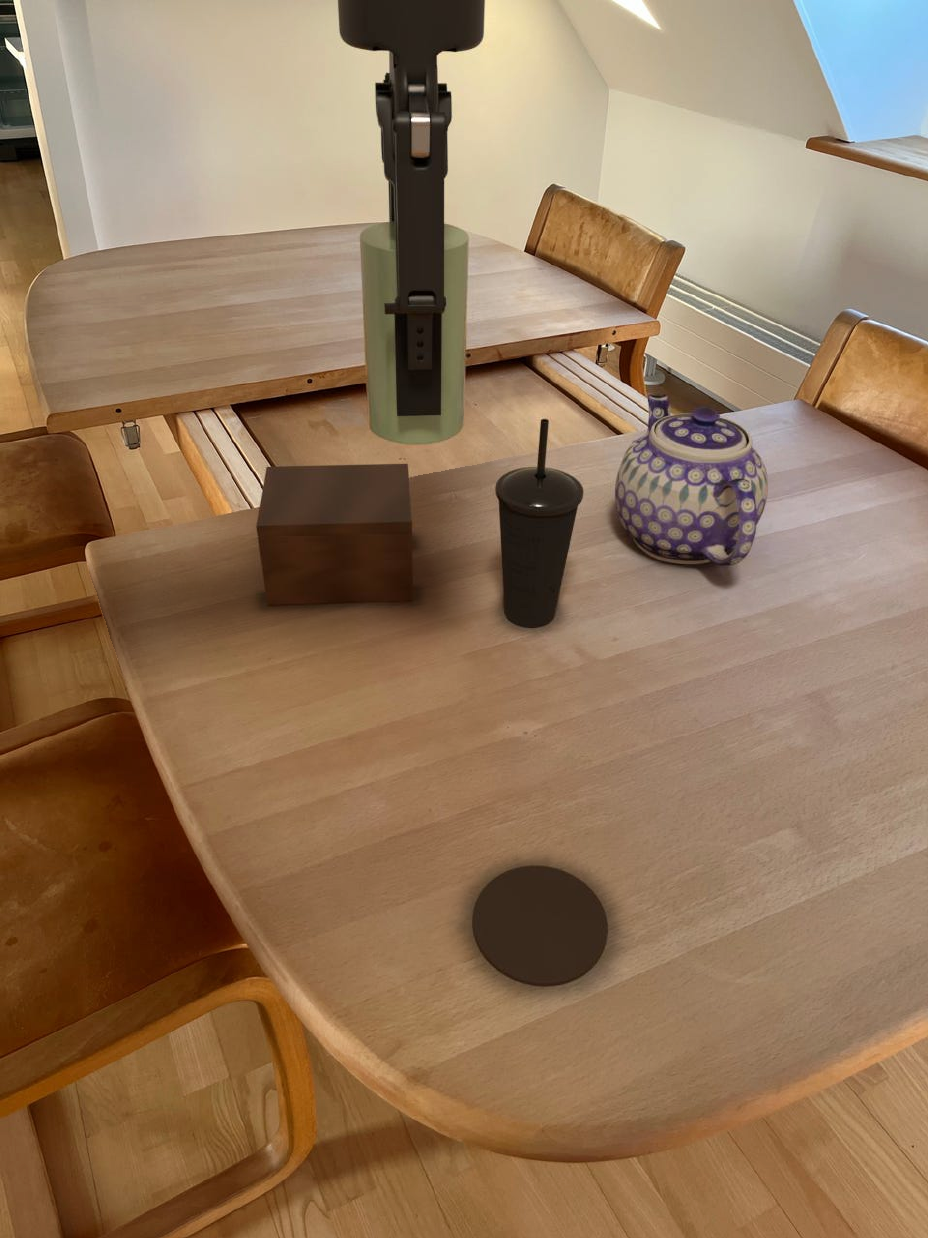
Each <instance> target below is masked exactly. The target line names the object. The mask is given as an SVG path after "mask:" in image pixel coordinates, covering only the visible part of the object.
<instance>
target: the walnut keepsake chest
mask: <svg viewBox="0 0 928 1238" xmlns="http://www.w3.org/2000/svg"><path fill="white" fill-rule="evenodd" d="M264 473H265V474H264V479H263V483H262V492H261V496H260V502H259V507H258V513H257V519H256V524H255V526H256V534H257V540H258V541H257V542H258V548H259V549H258V550H259V556H260V564H261V571H262V577H263V585H264V586H263V587H264V593H265V599H266V605H267V606H290V605H319V604H320V605H323V604H351V603H379V602H380V603H381V602H411V601H414V560H413V558H414V557H413V518H412V517H413V516H412V502H411V490H410V475H409V464H408V463H378V464H377V463H376V464H373V463H372V464H371V463H370V464H369V463H368V464H330V465H327V464H326V465H288V466H287V465H286V466H284V465H283V466H282V465H281V466H266V467H265V472H264Z"/></svg>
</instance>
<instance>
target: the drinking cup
mask: <svg viewBox="0 0 928 1238" xmlns="http://www.w3.org/2000/svg"><path fill="white" fill-rule="evenodd" d="M549 424H550V420H549V419H548V418H542V419H540V424H539V425H540V427H539V437H538V439H539V440H538V449H537V450H538V453H537V465H536V466H527V467H520V468H516V469H513V470H509V471H508V472H506V473H503V474H502V475H501V476H500V477H499V478H498V479H497V481H496V482H495V486H494V487H495V489H494V493H495V496H496V498H497V500H498V514H499V516H498V517H499V533H500V534H499V536H500V551H501V552H500V556H501V573H502V575H501V576H502V591H503V611H504V615H505V617H506V618H507V620H508V621H509V622H511V623H512V624H514V625H516V626H519V627H522V628H529V629H530V628H531V629H532V628H540V627H543V626H544V627H545V626H547V625H548V624H550V623H551V622H552V621H553V619H554V618H555V615H556V612H557V611H556V610H557V607H558V602H559V596H560V591H561V586H562V582H563V577H564V574H565V568H566V564H567V559H568V555H569V550H570V545H571V541H572V537H573V531H574V527H575V522H576V517H577V512H578V509H579V505H580V504H581V503H582V501H583V498H584V488H583V485H582V484H581V482H580V481H579V480H578V479H577V478H576V477H574V476H573V475H571V474H569V473H568V472H565V471H563V470H559V469H556V468H552V467H546V463H547V462H546V459H547V449H548V437H549V426H550V425H549Z"/></svg>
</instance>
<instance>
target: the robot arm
mask: <svg viewBox="0 0 928 1238" xmlns="http://www.w3.org/2000/svg"><path fill="white" fill-rule="evenodd" d="M485 8H486V0H337V11H338V12H337V13H338V31H339V36H340V38H341V40H342V41H343V42H344V43H345V44H346V45H347V46H350V47H352V48H355V49H359V50H364V51H369V52H381V51H382V52H388V65H389V66H388V67H389V70H388V71H389V72H385V74H384V79H383V80H382V82H375V83H374V88H375V89H374V91H375V96H374V97H375V113H376V114H375V115H376V119H377V120H376V121H377V125H378V127H379V128H380V150H381V151H380V153H381V162H382V163H383V175H384V178H385V179H386V181H387V182H388V184H387V185H388V186H387V187H388V222H392V221H395V245H396V276H397V297H396V298H395V303H384V310H385V314H394V315H395V358H396V401H397V416H422V415H441V349H442V313H444V311H445V307H446V297H445V296H444V223H445V179H446V177H447V176H448V172H449V155H448V154H449V151H448V149H449V148H448V145H449V144H448V143H449V142H448V131H449V127H450V124H451V123H452V119H453V109H452V108H453V105H452V104H453V102H452V98H453V97H452V91H450V90H449V91H448V84H447V83H446V82H443V83H441V82H439V77H438V76H439V75H438V73H439V71H438V55H440V54H441V53H442V52H445V53H446V52H447V53H448V52H451V53H459V52H466V51H470V50H472V49H473V50H474V49H475V48H477V47H478V46H479V45H481V43H482V42H483V40H484V36H485Z"/></svg>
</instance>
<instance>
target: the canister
mask: <svg viewBox="0 0 928 1238" xmlns="http://www.w3.org/2000/svg"><path fill="white" fill-rule="evenodd" d="M469 241H470V237H469V234H468V232H466V230H464V229H463V228H460V227H458V226H455V225H452V224H449V223H446V222H444V296H445V297H446V307H445V311H444V313H442V349H441V415H422V416H397V401H396V358H395V315H394V314H385V310H384V303H395V298H396V297H397V276H396V245H395V221H392V222H389V221H386V222H381V223H376V224H373V225H371V226H368V227H366V228H364V229H363V230H362V231H361V232H360V234H359V250H360V251H359V253H360V276H361V277H360V278H361V299H362V321H363V322H362V323H363V343H364V346H363V347H364V366H365V369H364V370H365V389H366V390H365V392H366V411H367V415H366V416H367V426H368V428H369V430H370V431H371V432H372V433H373V434H374V435H376V436H377V437H378V438H381V439H383V440H385V441H388V442H392V443H396V444H401V445H403V444H404V445H411V446H413V445H414V446H416V445H417V446H420V445H432V444H437V443H440V442H444V441H447V440H450V439H452V438H454V437H455V436H457V435H458V434H459V433H460V432H461V431H462V430H463V428H464V426H465V410H466V409H465V405H466V403H465V402H466V401H465V400H466V369H467V367H466V364H467V363H466V362H467V329H468V328H467V325H468V323H467V322H468V285H469V282H468V281H469V279H468V278H469V244H470V243H469Z"/></svg>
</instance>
